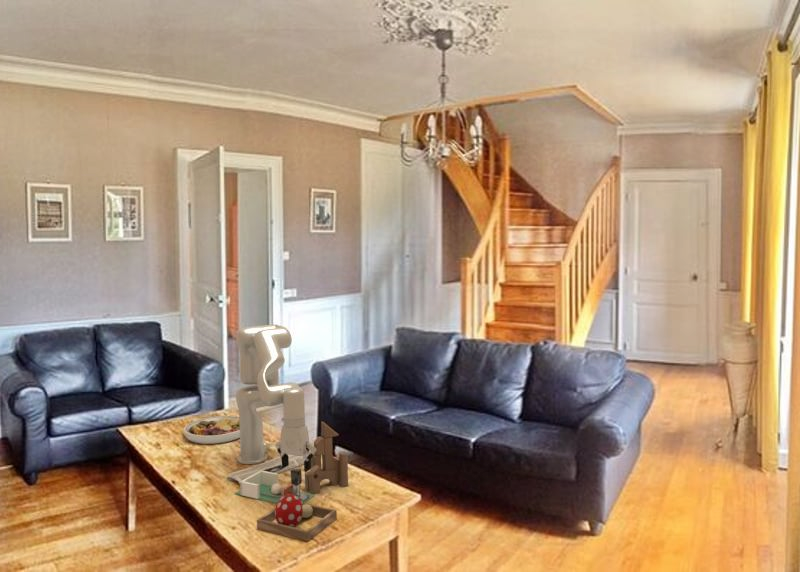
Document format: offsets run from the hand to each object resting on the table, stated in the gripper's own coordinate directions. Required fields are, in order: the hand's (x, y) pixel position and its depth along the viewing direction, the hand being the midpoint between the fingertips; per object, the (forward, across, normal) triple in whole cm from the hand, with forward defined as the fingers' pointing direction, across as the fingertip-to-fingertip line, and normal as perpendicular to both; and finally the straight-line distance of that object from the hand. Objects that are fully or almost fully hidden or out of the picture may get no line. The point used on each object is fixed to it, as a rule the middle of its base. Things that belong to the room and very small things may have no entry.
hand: (296, 468), depth 226 cm
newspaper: (+12, -27, +19) cm, 35 cm away
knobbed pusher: (+12, -1, 0) cm, 12 cm away
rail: (+12, -6, 0) cm, 13 cm away
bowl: (+11, -78, +43) cm, 90 cm away
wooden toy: (+12, +3, +14) cm, 19 cm away
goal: (+12, -18, 0) cm, 21 cm away
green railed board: (+12, -11, 0) cm, 16 cm away
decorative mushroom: (+12, +10, -15) cm, 22 cm away
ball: (+9, -10, 0) cm, 13 cm away
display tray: (+12, +10, -15) cm, 22 cm away
